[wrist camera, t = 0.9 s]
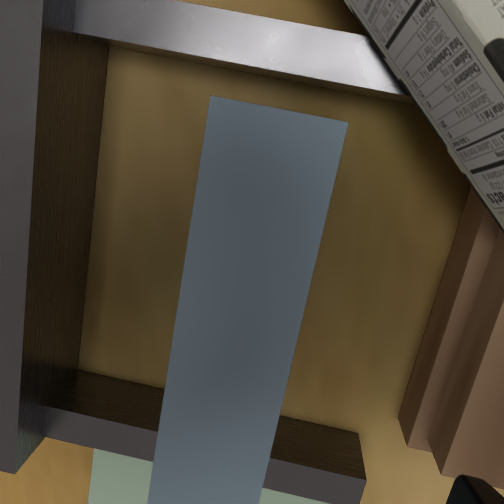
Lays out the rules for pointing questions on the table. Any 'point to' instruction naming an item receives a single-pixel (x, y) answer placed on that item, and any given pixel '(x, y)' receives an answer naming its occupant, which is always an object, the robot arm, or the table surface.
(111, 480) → the mat
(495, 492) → the robot arm
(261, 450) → the grey panel
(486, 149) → the candy bar box
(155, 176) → the table surface
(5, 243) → the rack
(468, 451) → the offcut pile
